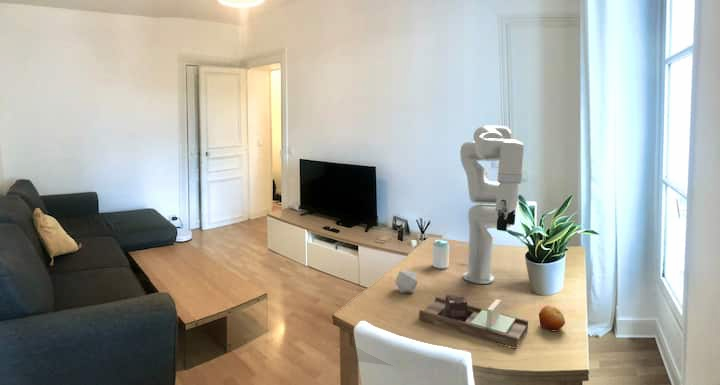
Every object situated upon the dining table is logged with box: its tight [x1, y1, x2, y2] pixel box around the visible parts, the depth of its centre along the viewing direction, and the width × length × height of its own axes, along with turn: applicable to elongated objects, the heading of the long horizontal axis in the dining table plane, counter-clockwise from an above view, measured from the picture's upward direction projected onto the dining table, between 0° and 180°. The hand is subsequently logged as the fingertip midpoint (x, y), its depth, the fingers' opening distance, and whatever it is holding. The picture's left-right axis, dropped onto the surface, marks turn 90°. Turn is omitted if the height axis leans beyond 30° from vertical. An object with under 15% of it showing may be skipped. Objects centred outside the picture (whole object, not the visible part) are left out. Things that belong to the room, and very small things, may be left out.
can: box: [432, 238, 450, 270], centre depth 199 cm, size 7×7×12 cm
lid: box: [470, 298, 515, 334], centre depth 142 cm, size 11×11×6 cm
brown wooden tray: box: [418, 296, 529, 349], centre depth 147 cm, size 14×32×3 cm, turn 56°
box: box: [445, 294, 468, 322], centre depth 149 cm, size 6×6×7 cm
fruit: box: [538, 305, 566, 331], centre depth 145 cm, size 8×8×8 cm
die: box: [394, 270, 419, 294], centre depth 173 cm, size 8×9×10 cm
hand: (505, 227), depth 153 cm, fingers open, 9 cm apart
